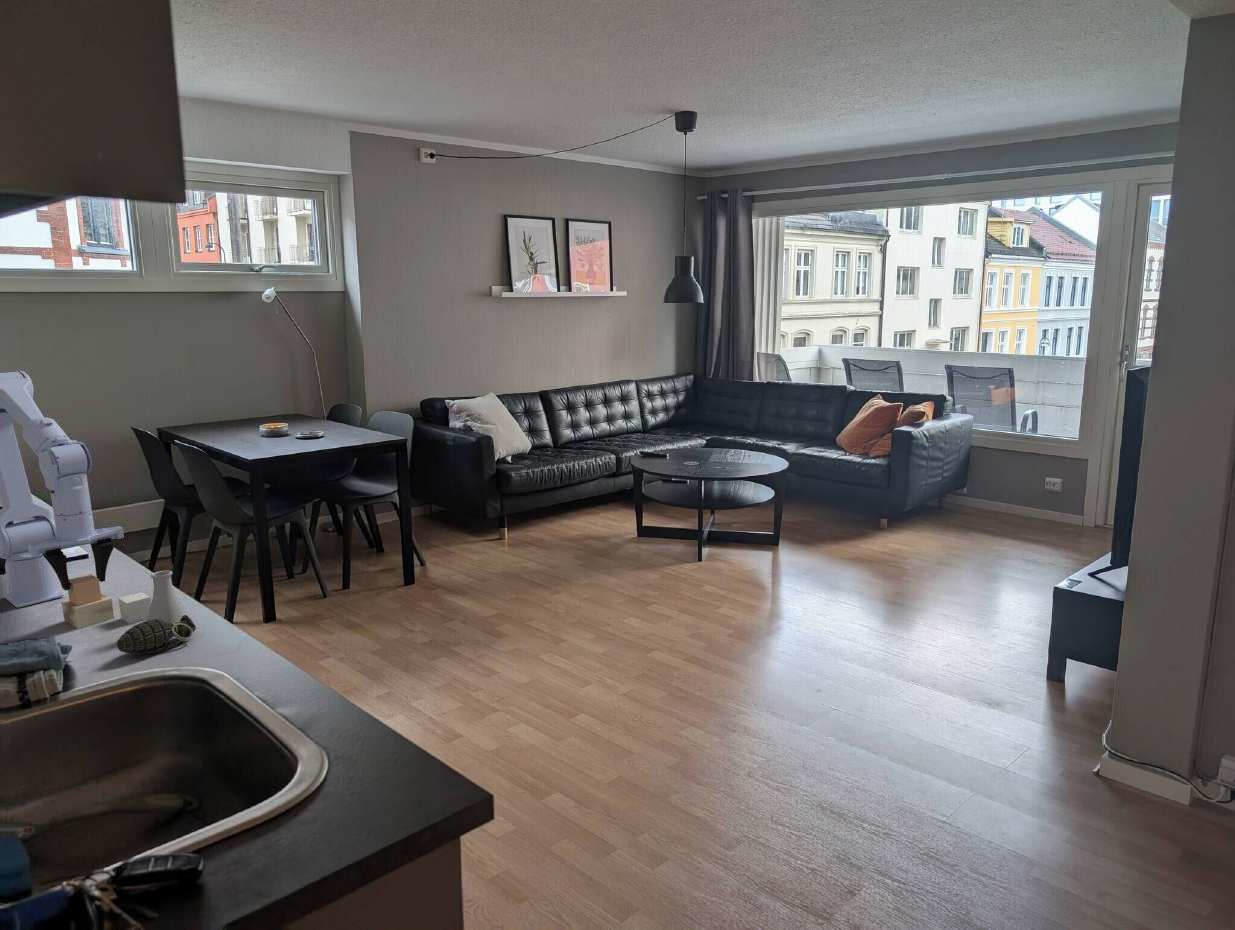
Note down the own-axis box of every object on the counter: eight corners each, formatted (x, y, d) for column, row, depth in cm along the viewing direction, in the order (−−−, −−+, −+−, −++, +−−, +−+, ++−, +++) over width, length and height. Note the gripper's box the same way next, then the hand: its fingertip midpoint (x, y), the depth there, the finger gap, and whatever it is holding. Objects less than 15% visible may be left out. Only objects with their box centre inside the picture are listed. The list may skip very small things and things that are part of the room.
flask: (172, 636, 147) (164, 581, 145) (135, 633, 148) (128, 579, 146) (200, 620, 154) (193, 567, 152) (165, 618, 155) (158, 565, 153)
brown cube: (69, 601, 154) (66, 579, 153) (93, 594, 157) (90, 574, 156) (77, 605, 151) (73, 584, 150) (101, 599, 154) (98, 578, 153)
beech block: (64, 622, 154) (61, 601, 154) (100, 612, 159) (97, 591, 158) (78, 629, 151) (75, 608, 150) (114, 619, 156) (111, 598, 155)
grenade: (117, 623, 136) (187, 602, 146) (107, 642, 138) (176, 621, 149) (137, 653, 134) (206, 630, 145) (126, 672, 137) (195, 648, 147)
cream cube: (121, 618, 155) (118, 598, 154) (144, 612, 158) (141, 592, 157) (129, 624, 153) (126, 603, 152) (153, 617, 156) (150, 596, 155)
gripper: (31, 524, 143) (44, 600, 146) (125, 507, 154) (135, 578, 156) (19, 517, 148) (32, 591, 150) (111, 501, 158) (121, 570, 161)
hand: (84, 584), depth 154 cm, fingers open, 5 cm apart
